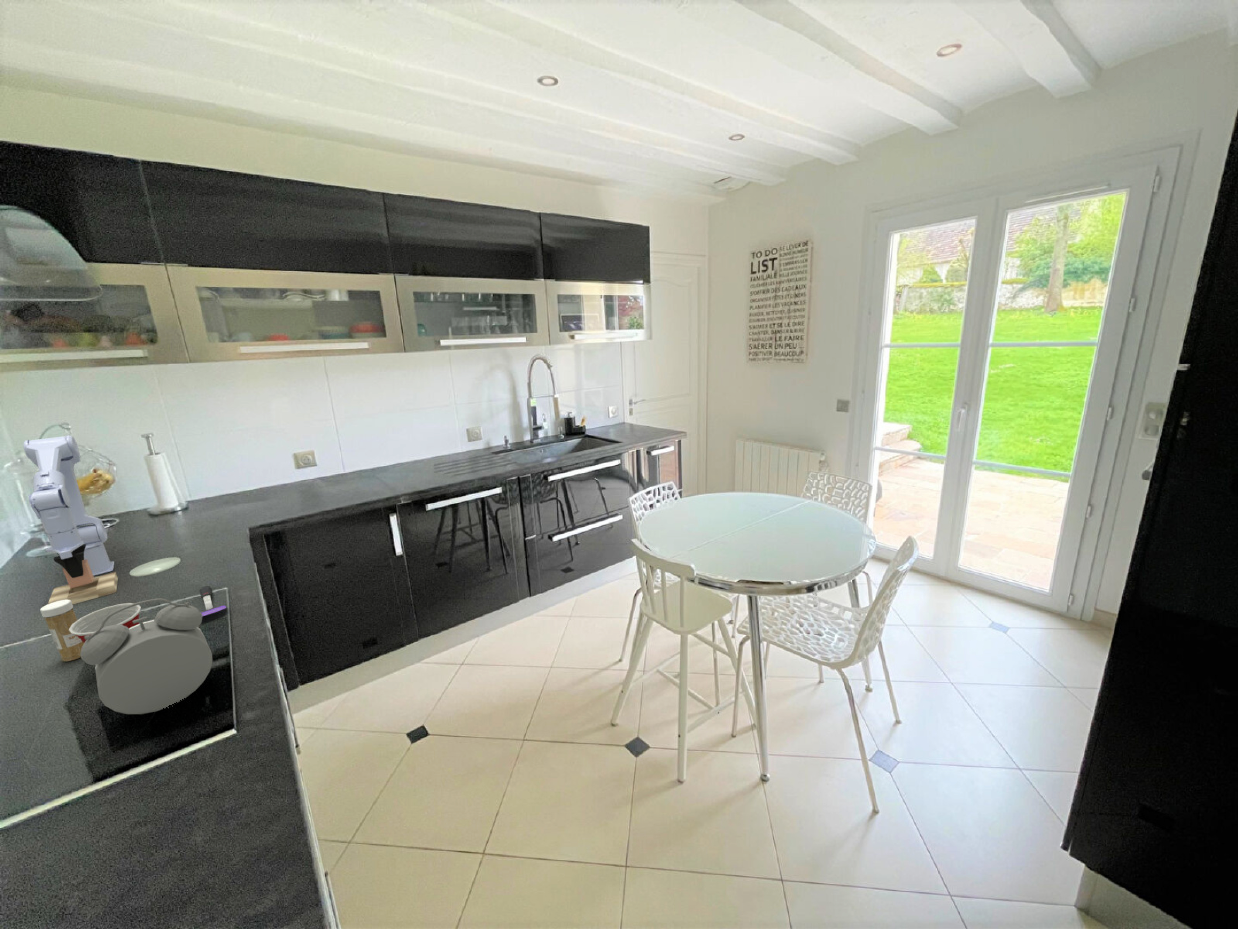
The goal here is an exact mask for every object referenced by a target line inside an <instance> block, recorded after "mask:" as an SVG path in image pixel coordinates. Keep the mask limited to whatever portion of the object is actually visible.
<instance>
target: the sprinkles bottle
mask: <svg viewBox="0 0 1238 929" xmlns="http://www.w3.org/2000/svg"><path fill="white" fill-rule="evenodd" d="M39 610H40V614H41V616H42V617H43V619H45V622H46V624H47V627H48V630H49V632H50V635H51V638H52V640H53V643H54V645H55V647H56V649H57V651H58V652H59V654H60V656H61V657H60V660H61V661H62V662H70V661H71V662H72V661H74V660H78V659H80V658H81V655H80V654H81V649H82V646H83V644H84V642H82V641H81V639H79V638H78V636H76V635H73V634H72V633H71V632H70V631H69V628H70V627H71V625H72V624H73V623H75V622H76V621H77V620H78V618H77V615H76V613H75V611H74V604H73V605H72V602H71V601H70V600H60V601H56V602H53V603H50V604H48V603H47V604H45V605H44V606H42V607H41V608H40V609H39Z"/></svg>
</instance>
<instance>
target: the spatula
mask: <svg viewBox="0 0 1238 929" xmlns="http://www.w3.org/2000/svg"><path fill="white" fill-rule="evenodd" d="M212 592H213V591H212V587H211V586H210V585H206V586H203V587H201V588H200V589H199V595H200V597H201V599H202V600H203V603H204V607H205V611H202V612H201V614H202V617H204V616H209V615H211V614H215V613H217V612H220V611H222V610H225V609H226V608H227V606H226V605H221V606H218V607H214V606H213V602H212V598H211V597H212V594H213V593H212Z"/></svg>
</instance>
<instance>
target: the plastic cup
mask: <svg viewBox="0 0 1238 929" xmlns="http://www.w3.org/2000/svg"><path fill="white" fill-rule="evenodd" d="M134 603H135V602H134ZM134 603H132V602H127V603H118V604H115V605H111V606H106V607H103V608H101V609H98V610H95V611H93V612H90V613H88V614H86V615H84V616H82V617H80V618H79V619H77V621H76V622H75V623H73V624H72V625H71V627H70V628H69V631H70V632H71V633H72V634H73V635H76V636H78V638H79V639H81V641H82V642H84V643H85V641H86V639H85V638H84V637H85V636H88V635H90V636H91V635H92V634H93V633H94V632H96V631H97V630H98V629H99V628H100V626H101V624H102V622H103V620H104V619H105V618H106V617H107V616H108V615H109V614H111V613H113V612H115V611H117V610H119V609H121V608H123V607H126V606H128V605H131V604H134ZM141 610H142V606H140V605H136V606H133V607H130V608H128V609H125V610H123V611H121V612H118V613H116V614H114V615H113V616H111V617H110V618H109V619H108V620H107V621H106V622H105V625H104V627H106V626H111V625H116V624H117V625H123V626H126V627H128V628H131V627H133V626H136V625H138V624H140V623H139V622H138V623H135V624H133V621H134V620H137V619H140V612H141ZM104 627H103V628H104Z"/></svg>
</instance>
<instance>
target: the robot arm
mask: <svg viewBox="0 0 1238 929" xmlns="http://www.w3.org/2000/svg"><path fill="white" fill-rule="evenodd" d="M22 445H23V450H24V453H25V455H26V458H28V459H29V460H30V461H31V462H32V464H33V465H36V467H37V468H38V471H37V472H36V473H35V474H34V475H33V478H32V481H33V487H32V488H33V491H32V494H29V495H28V502H29V505H30V507H31V509H32V511H33V512H34V513H35V516H36V518H37V519H38V520H40V522H41V524H42V527H43V529H44V532H45V533H46V536H47V539H48V541H49V544H50V547H48V548H46V549H45V552H46V553H50V552H53V553H54V554H55V553H56V555H58V556H54V557H53V561H54V562H55V563H56V564H58V565H60V566H61V567H62V569H63V568H64V569H65V570H66V571H67V572H68V574H69V575H70V576H71V577H72V578H75V577H79V576H83V565H82V560H86V559H87V561H88V563H89V566H90V569H91V571H92V574H93V576H94V577H96V576H99V575H103V574H106V573H109V572H110V573H111V572H113V571H114V567H115V561H111V560H110V558H109V556H108V553H107V551H106V550H107V549H106V548H105V544H104V543H105V542H106V541H107V540H108V533H107V529H106V527H105V525H104V524H103V520H102V519H100V518H99V517H96V516H92V515H88V514H87V511H86V507H85V504H84V501H83V497H82V494H81V491H80V488H79V484H78V481H77V477H76V473H75V464H78V463H79V462H81V455H80V450H79V447H78V444H77V442H76V439H75V438H74V437H73V436H72V435H69V434H68V435H64V436H62V435H61V436H55V437H48V438H39V439H25V440H24V442H23V443H22Z"/></svg>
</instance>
